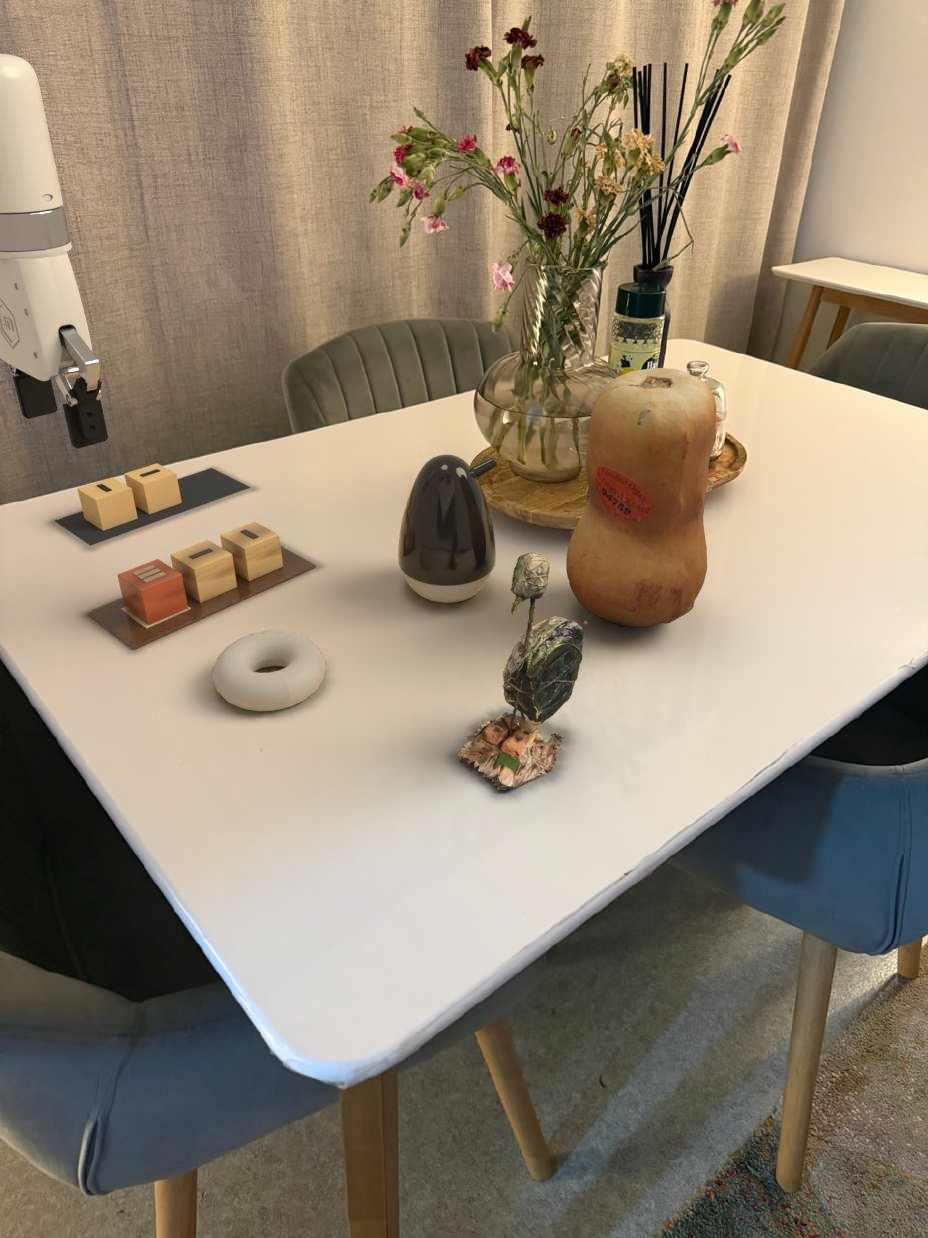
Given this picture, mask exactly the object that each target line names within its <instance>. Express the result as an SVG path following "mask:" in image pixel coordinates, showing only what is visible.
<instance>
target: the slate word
mask: <svg viewBox="0 0 928 1238" xmlns="http://www.w3.org/2000/svg"><path fill="white" fill-rule="evenodd" d="M123 475H124V479H125V483H123V482H121V481H120V480H118V479H116V478H114V477H112V476H111V477H109V478H106V479H102V480H99V481H96V482H93V483H90V484H87V485H84V486H80V487H78V488H76V489H77V493H78V494H77V495H78V496H79V502H80V506H81V509H82V510H81V511H78V512H76V513H73V514H70V515H67V516H64V517H61V518H58V519H55V520H54V523H57V524H58V525H59V526H61V527H62V528H64V529H65V530H67V531H68V532H70V533H71V534H72V535H74V536H76V537H77V538H78V539H80V540H82V541H83V542H85V543H86V544H87V545H89V546H95V545H96V544H99V543H103V542H106V541H107V540H110V539H113V538H116V537H119V536H121V535H124V534H126V533H130V532H132V531H136V530H138V529H140V528H143V527H146V526H148V525H152V524H154V523H157V522H160V521H162V520H165V519H168V518H170V517H174V516H176V515H177V516H178V515H179V514H182V513H184V512H187V511H190V510H193V509H196V508H200V507H202V506H205V505H207V504H209V503H213V502H215V501H218V500H220V499H223V498H226V497H229V496H231V495H234V494H237V493H240V492H242V491H246V490H248V489H250V488H251V486H249V485H247V484H245V483H243V482H241V481H239V480H237V479H235V478H233V477H231V476H230V475H227V474H225V473H223V472H221V471H219V470H217V469H216V468H215V469H214V468H213V467H210V468H207V469H204V470H201V471H198V472H195V473H192V474H189V475H186V476H183V477H179V478H178V477H177V476H178V475H177V473H176V472H175V471H173V470H170V469H168V468H167V467H165V466H163V465H161V464H159V463H157V462H156V463H153V464H150V465H147V466H144V467H141V468H138V469H134V470H131V471H128V472H125V473H123Z"/></svg>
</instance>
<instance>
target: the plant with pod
mask: <svg viewBox="0 0 928 1238" xmlns="http://www.w3.org/2000/svg"><path fill="white" fill-rule="evenodd" d="M550 569H551V567H550V562H549V560H548V558H547V557H546V556H545V555H543V554H541V553H540V554H538V553H534V552H527V553H524V554H521V555H519V556H518V558H517V560H516V562H515V567H514V568H513V573H512V578H511V588H510V589H509V590H510V591H511V593H513V594H514V595H515V599H514V601H513V602H512V603H511V605H512V607H511V610H510V613H511V614H512V615H513V614H514V613H516V611H517V609H518V605H520V604H522V603H524V602H525V601H526V600H529V609H528V620H527V627H526V628H527V629H526V631H525V632H524V634H523V635H522V636H521V637H519V639H518V640H517V642H516V644H514V646H513V648H512V651H511V653H510V655H509V657H508V659H507V661H506V664H505V667H504V668H503V669H504V670H503V671H502V679H503V684H502V685H501V686H502V688H503V697H504V700H505V702H506V703H507V704H508V705H510V706H511V707H513V710H512V712H510V713H509V711H506V712H504V713H503V714H502V715H497V717H495V719H492V720H491V719H490V720H485V723H483V722H482V724H480V723H479V724H478V725H479V727H478V728H477V730H476V731H473V733H474V734H472V735H469V736H466V739H467V742H466V743H463V746H464V747H461V749H460V751H459V752H457V757H458V760H459V761H461V762H463V763H466V765H469V764H471V763H473V762H474V764H473V769H476V768H477V767H478V770H477V772H481V773H484V774H483V775H482V778H487V780H491V782H492V783H493V782H494V783H493V784H492V786H495V787H496V788H497V790H499V791H504V790H505V791H506V790H507V791H510V790H514V789H515V788H516V787H520V786H521V785H525V784H526V783H528V782H530V780H533V779H535V778H537V776H538V777H539V776H540V777H541V774H544V775H547V772H546V771H548V772H551V770H552V769H554V768H555V766H554V765H556V762H557V755H558V753H559V751H560V750H562V749H563V748H561V747H562V746H561V745H562V744H563V743H562V742H563V739H564V738H565V736H561V735H560V733H558V734H556V732H555V733H550V738H549V739H548V740H547V738H546V737H545V736H543V734H542V732H541V731H540V730H539V727H540V726H541V725H543V724H544V723H545V721H547V720H549V719H550V718H552V717H553V716H554V715H555V714H556V713H557V712H558V711H559V710H560V709H561V708H562V707H563V706H564V704H566V703H567V702H568V701H569V700H570V698H571V696H572V694H573V691H574V687H575V684H576V682H577V680H578V678H579V672H580V667H581V664H582V661H583V658H584V656H583V646H584V642H583V640H584V631H583V630H584V629H583V627H582V626H581V625H580V624H579V623H578V622H577V621H575V619H571V618H565V617H564V616H563V617H562V616H557V615H554V616H551V617H547V618H545V619H544V620H542V621H539V622H537V623H536V624H534V625H533V622H534V616H535V611H536V610H535V609H536V600H539V599H542V598H543V596H544V595H545V593H546V591H547V588H548V584H549V575H550ZM583 624H584V625H588V621H587V619H586V620H584V622H583ZM517 712H520V715H519V714H516V713H517ZM546 740H547V741H546Z"/></svg>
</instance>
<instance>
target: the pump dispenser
mask: <svg viewBox="0 0 928 1238" xmlns="http://www.w3.org/2000/svg"><path fill="white" fill-rule="evenodd" d="M497 466H498V461H497V459H496V458H495V457H494V456H491V457H489V458H487V459H485V460H482V461H480V462H478V463H475V464H473V465H472V466H470V465H469V464H468V462H466V460H464V459H463V458H461V457H460V456H458V455H457V456H456V455H453V454H447V453H446V454H439V455H436V456H434V457H432V458H431V459H428V460H427V461H426V462H425V463H424V465H423V466H422V467H421V469H420V471H419V472H418V474H417V476H416V478H414V482H413V484H412V486H411V489H410V492H409V494H408V497H407V500H406V502H405V506H404V510H403V514H402V518H401V522H400V529H399V535H398V536H399V538H398V546H397V562H398V566H399V568H400V570H401V571H402V573H403V576H404V578H405V580H406V582H407V584H408V585H409V587H410V588H411V589H412V590H413V591H414V592H415V593H416V594H418V595H419V596H421V597H422V598H424V599H426V600H429V601H432V602H435V603H441V604H442V603H443V604H447V603H448V604H452V603H458V602H462V601H465V600H468V599H470V598H472V597H474V596H476V595H477V594H478V593H479V592H480V591H481V590H482V589H483V588H484V587H485V586H486V584H487V583H488V581H489V579H490V576H491V573H492V571H493V570H494V569H495V566H496V562H497V548H496V537H495V531H494V524H493V519H492V515H491V512H490V511H491V510H490V507H489V505H488V501H487V498H486V495H485V492H484V491H483V488H482V487H481V484H480V481H479V479H480V478H482V477H483V476H485V475H486V474H487V473H490V472H491V471H492V470H494V469H495V468H497Z"/></svg>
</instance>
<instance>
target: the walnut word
mask: <svg viewBox="0 0 928 1238" xmlns="http://www.w3.org/2000/svg"><path fill="white" fill-rule="evenodd" d="M219 537H220V542H221V546H219V545H217V544H216V543H214V542H212V541H211V540H209V539H206V540H203V541H201V542H198V543H196V544H193V545H191V546H188V547H185V548H183V549H180V550H177V551H175V552H173V553H171V554H170V560H171V565H172V568H173V569H174V570H176V571H178V572H179V573H181V574H182V579H183V584H184V589H185V594H186V599H187V605H188V608H187V609H185V610H182V611H180V612H178V613H176V614H173V615H171V616H169V617H166V618H164V619H162V620H160V621H157V622H155V623H153V624H151V625H147V624H146V623H144V622H143V621H142V620H140V619H139V618H138V617H136V616H135V615H133V614H132V613H131V612H129V611H128V610H127V609H125V605H124V601H123V597H121V598H119V599H116V600H113V601H111V602H109V603H107V604H104V605H102V606H99V607H96V608H95V609H92V610H89V611H88V612H87V613H88V614H87V615H89V616H90V618H93V620H95V621H96V622H97V623H99V624H100V625H102V626H103V627H104V628H105V629H107V630H108V631H109V632H110V633H112V634H113V635H114V636H115V637H116V638H118V639H119V640H121V641H122V642H123V643H125V644H126V645H127V646H128V647H130V648H131V649H132V650H133V651H134V650H138V649H140V648H142V647H145V646H146V645H149V644H151V643H153V642H155V641H158V640H160V639H162V638H164V637H166V636H169V635H171V634H173V633H176V632H178V631H180V630H182V629H184V628H186V627H188V626H191V625H192V624H195V623H197V622H199V621H201V620H204V619H206V618H209V617H210V616H213V615H215V614H217V613H219V612H222V611H224V610H226V609H228V608H230V607H232V606H236V605H237V604H240V603H241V602H244V601H246V600H248V599H250V598H252V597H255V596H256V595H259V594H261V593H264V592H265V591H268V590H270V589H272V588H274V587H276V586H279V585H281V584H283V583H286V582H288V581H290V580H292V579H294V578H296V577H299V576H301V575H303V574H305V573H308V572H309V571H312V570H314V569H316V568H317V564H314V563H313V562H311V561H309V560H308V559H305V558H303V557H302V556H300V555H298V554H296V553H295V552H293V551H291V550H289V549H287V548H285V547H283V546H282V545H281V537H280V534H279V533H277V532H276V531H274V530H272V529H270V528H268V527H266V526H264V525H262V524H260V523H258V522H256V521H252V522H249V523H246V524H244V525H242V526H240V527H237V528H234V529H232V530H229V531H227V532H224V533H221V534H220V536H219Z"/></svg>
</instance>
